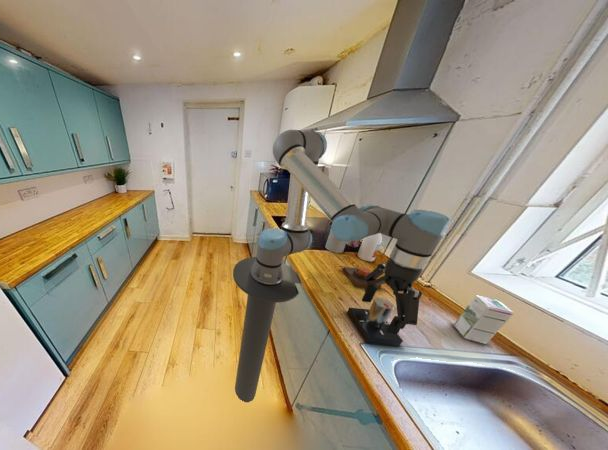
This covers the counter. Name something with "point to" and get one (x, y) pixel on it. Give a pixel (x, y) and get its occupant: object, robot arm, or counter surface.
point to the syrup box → (482, 319)
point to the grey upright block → (379, 313)
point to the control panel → (372, 329)
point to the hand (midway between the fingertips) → (377, 315)
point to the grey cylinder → (335, 243)
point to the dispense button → (363, 271)
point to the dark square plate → (356, 277)
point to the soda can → (353, 243)
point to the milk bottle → (370, 247)
